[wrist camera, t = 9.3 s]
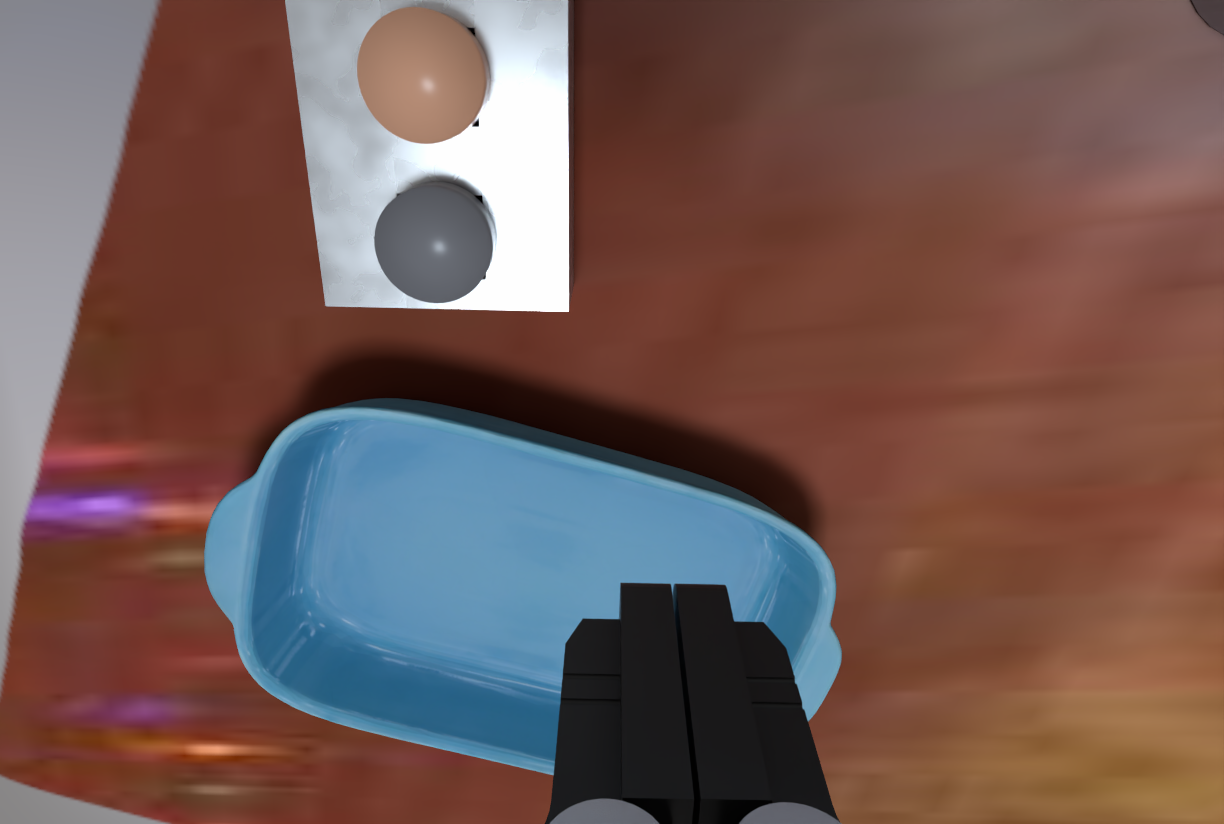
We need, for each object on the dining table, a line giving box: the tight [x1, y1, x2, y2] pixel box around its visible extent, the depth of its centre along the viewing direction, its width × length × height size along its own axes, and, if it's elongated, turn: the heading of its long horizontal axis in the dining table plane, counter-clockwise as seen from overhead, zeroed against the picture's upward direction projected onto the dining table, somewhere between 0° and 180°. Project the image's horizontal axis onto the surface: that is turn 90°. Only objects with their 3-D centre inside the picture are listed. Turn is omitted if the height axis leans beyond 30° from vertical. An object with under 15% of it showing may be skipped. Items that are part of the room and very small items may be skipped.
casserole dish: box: [204, 398, 842, 775], centre depth 47 cm, size 37×22×7 cm, turn 72°
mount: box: [285, 0, 574, 312], centre depth 36 cm, size 12×21×5 cm, turn 179°
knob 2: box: [374, 182, 496, 303], centre depth 38 cm, size 5×5×7 cm
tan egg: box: [357, 7, 490, 144], centre depth 35 cm, size 5×5×7 cm
